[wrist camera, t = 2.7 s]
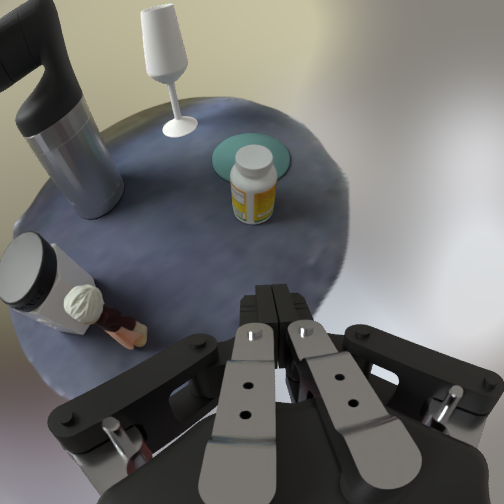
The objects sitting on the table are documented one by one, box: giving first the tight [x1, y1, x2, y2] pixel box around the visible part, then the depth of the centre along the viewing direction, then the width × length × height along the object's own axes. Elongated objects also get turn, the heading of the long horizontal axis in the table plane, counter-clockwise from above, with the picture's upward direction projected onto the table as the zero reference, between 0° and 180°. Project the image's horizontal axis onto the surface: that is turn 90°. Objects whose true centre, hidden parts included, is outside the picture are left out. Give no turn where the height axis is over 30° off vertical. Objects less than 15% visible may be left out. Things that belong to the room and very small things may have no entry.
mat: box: [212, 133, 290, 183], centre depth 41 cm, size 12×12×1 cm
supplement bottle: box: [230, 145, 277, 224], centre depth 32 cm, size 5×5×10 cm
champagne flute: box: [141, 4, 198, 137], centre depth 35 cm, size 7×7×24 cm
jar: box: [0, 231, 96, 335], centre depth 24 cm, size 9×8×12 cm
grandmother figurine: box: [64, 285, 147, 350], centre depth 23 cm, size 8×4×13 cm, turn 90°
